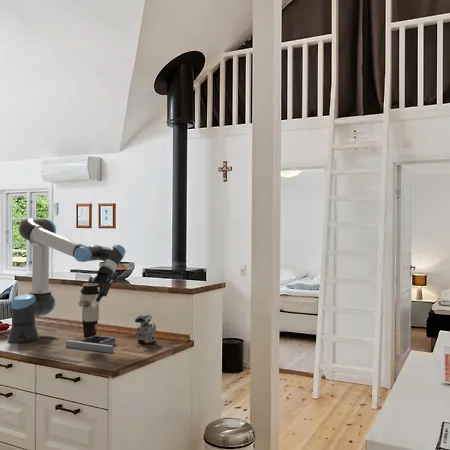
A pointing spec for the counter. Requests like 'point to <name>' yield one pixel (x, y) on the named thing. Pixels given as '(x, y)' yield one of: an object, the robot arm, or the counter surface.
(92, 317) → the travel mug
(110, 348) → the rail
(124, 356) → the counter surface
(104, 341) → the grey square frame
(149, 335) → the figurine
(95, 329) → the coffee mug
